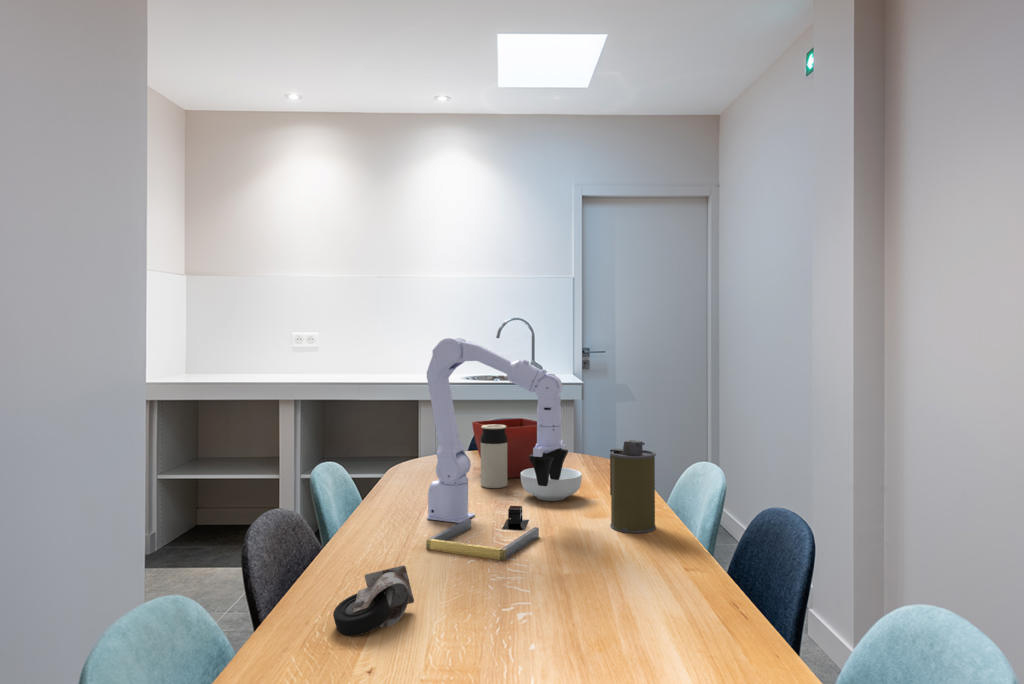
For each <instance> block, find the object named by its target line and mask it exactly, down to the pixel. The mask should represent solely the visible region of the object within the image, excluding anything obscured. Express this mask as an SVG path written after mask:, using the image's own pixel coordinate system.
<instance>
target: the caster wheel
mask: <svg viewBox="0 0 1024 684" xmlns="http://www.w3.org/2000/svg"><path fill="white" fill-rule="evenodd" d="M364 580H365V585H366V587H365V588H362V589H360V590H358V591H357V593H355V594H352V595H351V596H348V597H346V598H345V599H343V600H342V601H341V602H340V603H338V605H337V606H335V608H334V611H333V614H332V616H333V621H334V623H335V626H336V627H335V628H336V630H337V632H338V633H339V634H341V635H343V636H346V637H347V636H348V637H357V636H361V635H364V634H367V633H369V632H371V631H374V630H376V629H377V628H382V629H383V628H388V627H391V626H393V625H395V624H396V623H398V622H399V621H400V619H401V618H402V617H403V615H404V613H405V612H406V609H407V607H408V605H410V604H414V602H415V599H414V598H415V597H414V595H413V591H412V587H411V583H410V578H409V575H408V571H407V566H406V565H400V566H395V567H390V568H387V569H381V570H379V571H375V572H370V573H367V574H365V575H364Z"/></svg>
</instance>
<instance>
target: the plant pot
mask: <svg viewBox="0 0 1024 684" xmlns="http://www.w3.org/2000/svg"><path fill="white" fill-rule="evenodd" d="M471 423H472V431H473V436H474V441H475V444H476V448H477V451H478V455H479V457H480V459H481V435H482V433H483V429H482V427H481V426H483V425H492V424H497V425H505V426H506V428H505V433H506V435H507V480H508V479H515V478H521V472H522V471H523V470H526V469H530V468H534V467H533V465H532V463H531V461H530V460H529V455H531V454H533V448H535V446H536V444H537V420H532V419H527V418H522V417H520V418H519V417H518V418H506V419H505V418H504V419H493V420H489V419H488V420H478V421H472V422H471Z"/></svg>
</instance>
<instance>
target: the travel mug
mask: <svg viewBox="0 0 1024 684" xmlns="http://www.w3.org/2000/svg"><path fill="white" fill-rule="evenodd" d="M481 427H482V429H483V433H482V435H481V458H480V486H481V487H483V488H485V489H503V488H505V487H507V486H508V479H507V435H506V433H505V428H506V426H505V425H497V424H492V425H483V426H481Z"/></svg>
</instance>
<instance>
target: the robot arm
mask: <svg viewBox="0 0 1024 684" xmlns="http://www.w3.org/2000/svg"><path fill="white" fill-rule="evenodd" d="M465 362H479V363H480V364H483V365H485V366H487V367H490V368H492V369H494V370H496V371H499V372H502V373H504V374H506V377H507V379H508V381H509V382H510V383H512V384H514V385H516V386H518V387H520V388H522V389H524V390H526V391H528V392H530V393H534V392H535V395H536V396H537V406H536V421H537V444H536V446H535V448H533V454H531V455H529V460H530V461H531V463H532V465H533V467H534V470H535V474H536V478H537V482H538V485H539V486H547V485H548V481H549V475H550V479H552V480H559V478H560V475H561V470H562V467H563V465H564V462H565V459H566V457H567V455H568V454H569V450H568V449H565V448H566V447H567V446H566V444H565V442H564V441H565V440H564V439H562V406H561V402H562V399H561V393H562V391H563V383H562V381H561V379H560V377H558V376H556V375H555V374H554V373H548V371H547V370H546V369H543V368H542V370H541V369H540V368H537V367H535V366H533V365H532V364H530V361H529V360H527V359H523V360H521V359H518V360H514V361H511V360H509V359H506V358H505V357H504V356H501V355H499V354H497V353H495V352H493V351H492V350H490V349H488V348H487V347H484V346H481V345H479V344H477V343H475V342H471V341H467V340H465V339H464V338H460V337H459V338H450V337H447V338H443V339H441V340H440V341H438V343H437V345H435V347H434V348H433V349H432V355H431V359H430V362H429V364H428V368H427V370H426V379H427V386H428V391H429V396H430V402H431V408H432V411H433V412H432V414H433V419H434V425H435V430H436V436H437V441H438V446H437V447H438V448H437V452H436V458H437V463H436V466H435V474H436V477H437V478H438V480H433V481H432V482H431V483H430V485H429V487H428V493H427V503H428V504H427V505H428V506H427V509H428V510H427V513H428V514H427V516H426V519H427V520H432V521H441V522H448V523H449V522H450V523H456V524H458V523H460V522H462V521H464V520H466V519H470V518H473V517H474V516H476V513H473V512H469V478H468V476H467V474H468V472H469V471H470V468H471V460H470V458H469V456H468V454H466V452H465V451H466V450H465V446H464V445H463V443H462V442H461V440H460V434H459V431H458V430H459V429H458V424H457V418H456V414H455V413H456V412H455V406H454V401H453V396H452V391H451V386H450V380H449V379H450V376H451V375H452V374H453V373H454V371H455V370H456V369H457V368H458V367H459V366H461V365H462V364H464V363H465Z"/></svg>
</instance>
